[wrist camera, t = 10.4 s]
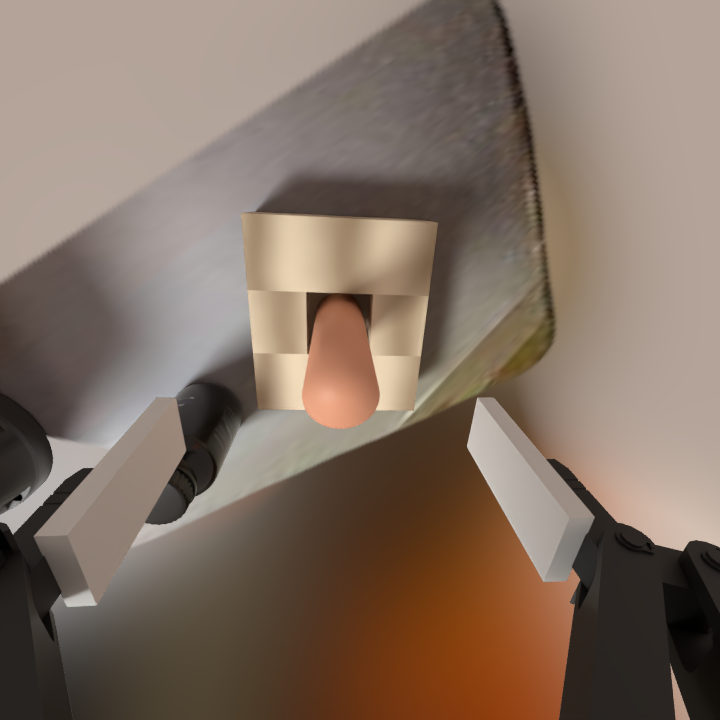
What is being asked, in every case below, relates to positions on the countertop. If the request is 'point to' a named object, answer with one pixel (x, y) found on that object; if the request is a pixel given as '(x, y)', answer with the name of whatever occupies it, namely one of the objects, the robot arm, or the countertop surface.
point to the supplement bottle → (198, 447)
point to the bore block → (336, 275)
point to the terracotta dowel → (340, 366)
